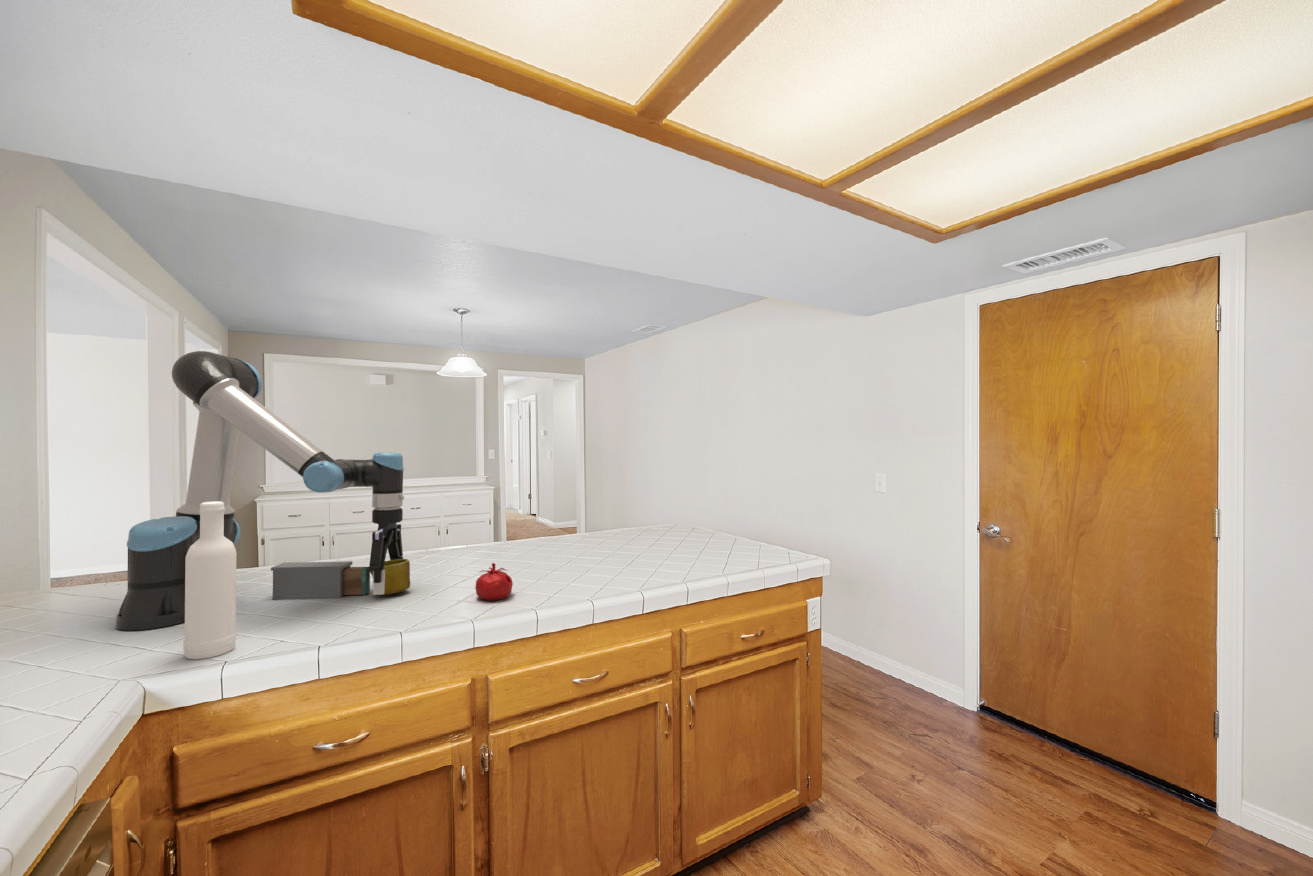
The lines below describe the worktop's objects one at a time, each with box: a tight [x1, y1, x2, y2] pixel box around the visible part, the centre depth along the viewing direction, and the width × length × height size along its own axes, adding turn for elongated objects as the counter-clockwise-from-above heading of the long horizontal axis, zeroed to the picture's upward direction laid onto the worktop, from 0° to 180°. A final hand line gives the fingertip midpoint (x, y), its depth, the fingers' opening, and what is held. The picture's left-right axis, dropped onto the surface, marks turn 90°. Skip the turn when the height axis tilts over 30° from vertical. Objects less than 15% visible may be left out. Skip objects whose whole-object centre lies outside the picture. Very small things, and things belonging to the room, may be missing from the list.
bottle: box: [183, 501, 238, 660], centre depth 104 cm, size 8×8×30 cm
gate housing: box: [270, 561, 353, 601], centre depth 142 cm, size 6×18×8 cm, turn 96°
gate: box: [342, 566, 371, 596], centre depth 142 cm, size 3×16×7 cm, turn 96°
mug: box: [370, 558, 411, 596], centre depth 145 cm, size 12×10×10 cm
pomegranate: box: [474, 562, 514, 602], centre depth 141 cm, size 10×10×9 cm
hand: (386, 588), depth 144 cm, fingers closed on mug, 9 cm apart
